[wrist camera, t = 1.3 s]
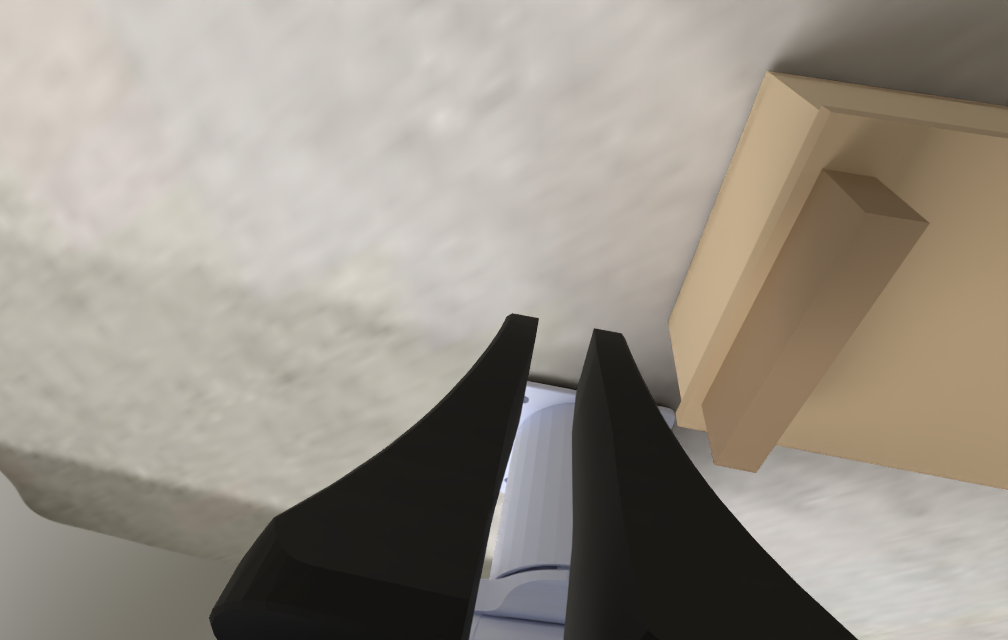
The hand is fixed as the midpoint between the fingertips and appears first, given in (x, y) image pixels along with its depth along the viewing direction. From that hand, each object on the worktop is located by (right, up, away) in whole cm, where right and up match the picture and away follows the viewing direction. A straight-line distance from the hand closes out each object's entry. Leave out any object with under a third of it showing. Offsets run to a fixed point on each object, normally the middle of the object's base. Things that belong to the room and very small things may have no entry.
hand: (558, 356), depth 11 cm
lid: (+13, 0, +3) cm, 14 cm away
